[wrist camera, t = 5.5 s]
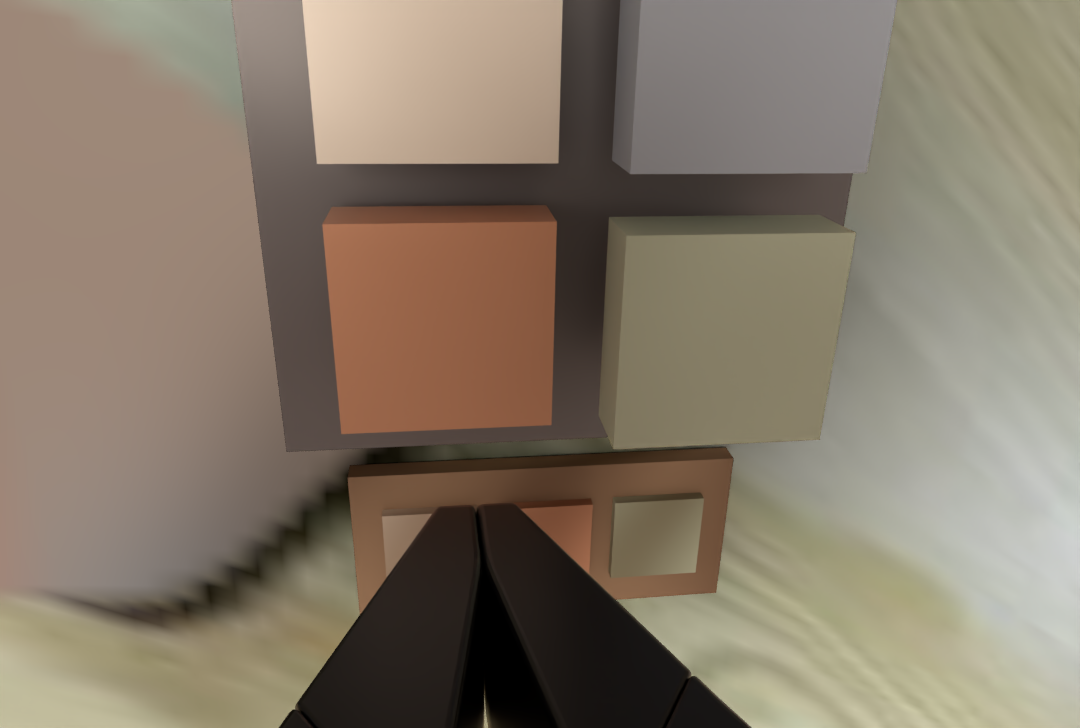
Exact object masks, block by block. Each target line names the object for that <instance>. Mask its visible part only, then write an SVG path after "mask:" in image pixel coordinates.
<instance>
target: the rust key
mask: <svg viewBox="0 0 1080 728" xmlns="http://www.w3.org/2000/svg"><path fill="white" fill-rule="evenodd" d="M322 226H323V237H324V248H325V259H326V270H327V281H328V292H329V303H330V314H331V325H332V336H333V347H334V358H335V369H336V380H337V391H338V402H339V413H340V424H341V434H356V433H379V432H403V431H426V430H449V429H472V428H495V427H519V426H542V425H551V424H552V386H553V348H554V310H555V273H556V235H557V221H556V220H555V218H554V216H553V215H552V213H551V212H550V210H549V209H548V207H547V206H546V205H490V206H375V207H331V209H330V211H329V213H328V215H327V217H326V218H325V220H324V222H323V224H322Z"/></svg>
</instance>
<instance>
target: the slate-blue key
mask: <svg viewBox="0 0 1080 728" xmlns="http://www.w3.org/2000/svg"><path fill="white" fill-rule="evenodd" d="M896 4H897V0H620V16H619V35H618V55H617V74H616V93H615V112H614V131H613V150H612V161H614V162H615V163H616V164H618V165H619V166H620V167H622V168H623V169H624V170H626V171H627V172H628V173H629V174H791V173H867V168H868V163H869V157H870V151H871V146H872V140H873V134H874V129H875V123H876V117H877V112H878V106H879V100H880V95H881V89H882V84H883V78H884V72H885V67H886V61H887V55H888V50H889V44H890V38H891V33H892V27H893V21H894V16H895V10H896Z"/></svg>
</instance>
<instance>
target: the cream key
mask: <svg viewBox="0 0 1080 728" xmlns="http://www.w3.org/2000/svg"><path fill="white" fill-rule="evenodd" d="M302 5H303V16H304V27H305V38H306V49H307V60H308V71H309V82H310V93H311V104H312V115H313V126H314V137H315V148H316V159H317V164H526V163H558V157H559V119H560V81H561V44H562V6H563V0H302Z"/></svg>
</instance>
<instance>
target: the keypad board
mask: <svg viewBox="0 0 1080 728" xmlns="http://www.w3.org/2000/svg"><path fill="white" fill-rule="evenodd" d="M231 3H232V11H233V19H234V27H235V35H236V43H237V52H238V60H239V68H240V76H241V84H242V92H243V101H244V109H245V117H246V125H247V133H248V141H249V149H250V158H251V165H252V174H253V182H254V190H255V198H256V206H257V214H258V223H259V231H260V239H261V247H262V255H263V263H264V272H265V280H266V288H267V296H268V304H269V312H270V320H271V329H272V337H273V345H274V353H275V361H276V369H277V378H278V386H279V394H280V402H281V410H282V418H283V426H284V435H285V443H286V451H287V452H293V451H316V450H338V449H360V448H382V447H404V446H426V445H448V444H470V443H492V442H514V441H536V440H558V439H580V438H602V437H608V436H607V434H606V431H605V429H604V427H603V424H602V422H601V420H600V417H599V398H600V379H601V360H602V341H603V322H604V303H605V284H606V265H607V245H608V226H609V217H644V216H738V215H821V216H823V217H825V218H827V219H829V220H831V221H833V222H835V223H837V224H839V225H841V226H844V221H845V215H846V209H847V203H848V197H849V191H850V185H851V180H852V174H853V173H791V174H629V173H628V172H627V171H626V170H624V169H623V168H622V167H620V166H619V165H618V164H616V163H615V162H614V161H612V150H613V131H614V112H615V93H616V74H617V55H618V35H619V16H620V0H563V6H562V44H561V81H560V119H559V157H558V163H526V164H317V159H316V148H315V137H314V126H313V115H312V104H311V93H310V82H309V71H308V60H307V49H306V38H305V27H304V16H303V5H302V0H231ZM490 205H546V206H547V207H548V209H549V210H550V212H551V213H552V215H553V216H554V218H555V220H556V221H557V235H556V273H555V310H554V348H553V386H552V424H551V425H542V426H519V427H495V428H472V429H449V430H426V431H403V432H379V433H356V434H341V424H340V413H339V402H338V391H337V380H336V369H335V358H334V347H333V336H332V325H331V314H330V303H329V292H328V281H327V270H326V259H325V248H324V237H323V226H322V224H323V222H324V220H325V218H326V217H327V215H328V213H329V211H330V209H331V207H375V206H490Z"/></svg>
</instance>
